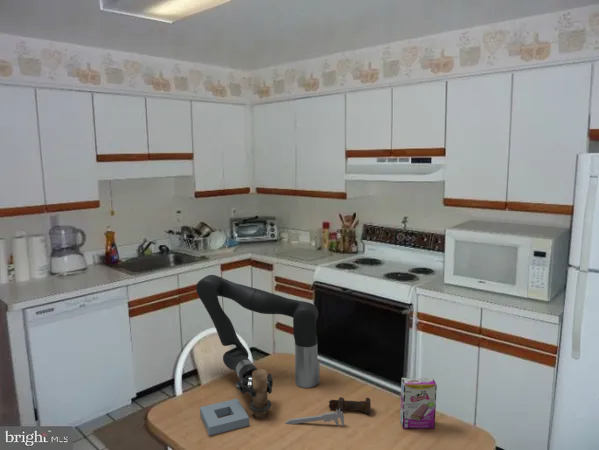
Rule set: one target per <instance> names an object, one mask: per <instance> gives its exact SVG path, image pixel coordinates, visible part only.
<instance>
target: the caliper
mask: <svg viewBox="0 0 599 450" xmlns="http://www.w3.org/2000/svg"><path fill="white" fill-rule="evenodd" d="M339 419H340V422H341V426H342V427H344V426H345V416H344V411H343V412H342V411H340V409H339V411H338V409H335V411H332V412H326V413H323V414H319V415H310V416H304V417H303V416H302V417H296V418H290V419H289V418H288V420H285V422H284V423H285V424H286V425H287V424H289V425H297V424H305V423H311V422H312V423H313V422H319V421H324V423H326V422H331V421H334V423H335V424H336V427H339V426H340V424H339Z"/></svg>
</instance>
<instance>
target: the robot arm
mask: <svg viewBox="0 0 599 450" xmlns="http://www.w3.org/2000/svg"><path fill="white" fill-rule="evenodd" d="M195 290H196V294H197V296H198V298H199V300H200V302H202V304H203V306H204V308H205V310H206V311H207V313H208V315H209V317H210V319H211V321H212V323H213V326H214V327H215V330H216V333H217V335H218V336H217V337H218V338H219V340H220V344H221V345H222V346H223V347H228V346H235V347H234V348H231V349H229V350H227V351H225V353H223V355H222V361H223V363H224V365H225V366H226V367H227V368H228V369H230V370H232V371H234V372H235V373H236V376H237V377H238V379H239V380H236V381H235V388H236V389H237V390H238V391H240V392H241V393H242V394H243V395H244V394H246V393H248V394H249V395H250V396H251V397H252V398H253V397H256V392H255V390H254V389H253V380H252V372H253V371H254V370H258V367H256V365H255V364H254V363H253V362H252V361H251V360H250V359H249V351H248V350H247V348H246V346H245V345H244V344H243V343H242V342H241V341H240V339H239V337H238V335H237V333H236V330H235V328H234V325H233V323H232V320H231V319H230V318H229V317H228V315H227V314H226V312H225V311H224V309H223V308H222V306H221V304H220V301H219V298H218V297H222V298H225V299H229V300H232V301H233V302H235V303H237V305H240V306H241V307H242V308H243V309H246V310H249V311H251V312H255V313H258V314H261V315H281V316H287V317H291V318H292V327H293V330H292V331H293V338H294V370H295V371H294V375H295V378H294V380H295V381H294V382H295V385H296V386H298V387H300V388H304V389H305V388H306V389H309V388H313V387H315V386H317V385H318V384H320V380H321V379H320V373H321V372H320V361H319V359H318V335H317V320H318V317H319V310H318V308H317V307H316V305H314V304H313V303H311V302H308V301H303V300H297V299H293V298H287V297H284V296H283V295H279V294H276V293H273V292H269V291H266V290H263V289H262V290H261V289H259V288H255V287H251V286H247V285H243V284H241V283H240V284H239V283H236V282H234V281H231V280H228V279H227V278H226V279H225V278H223V277H221V276H218V275H215V274H209V275H206V276H204V277H203V278H201V279H200V280H199V281H198V282H197V283H196V287H195ZM272 377H273V376H272V375H271V373H267V394H272V392H273V386H274V383H273V382H274V380H273V378H272Z"/></svg>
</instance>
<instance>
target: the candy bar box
mask: <svg viewBox="0 0 599 450" xmlns="http://www.w3.org/2000/svg"><path fill="white" fill-rule="evenodd" d="M437 386H438V385H437V383H436V381H435V379H434V377H401V381H400V411H399V413H400V414H399V418H400V419H399V421H400V424H401V427H402V429H403V430H404V429H405V430H406V429H407V430H408V429H409V430H410V429H413V430H414V429H420V430H421V429H422V430H425V429H426V430H427V429H428V430H429V429H432V430H433V429H435V428H436V427H435V426H436V412H437V411H436V409H437V407H436V406H437V405H436V403H437V391H438V390H437V389H438V388H437Z"/></svg>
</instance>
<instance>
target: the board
mask: <svg viewBox="0 0 599 450" xmlns="http://www.w3.org/2000/svg"><path fill="white" fill-rule="evenodd" d="M199 413H200V418H201V420H202V423H203V424H204V427H205V429H206V432H207V434H208V436H215V435H218V434H222V433H225V432H229V431H233V430H237V429H241V428H244V427H249V426H250V417H249V415H248V413H247V412H246V410H245V408H244V406H243V405H242V403H241V401H240V400H239V399H238V398H233V399H230V400H226V401H219V402H216V403H213V404H208V405H204V406H200V407H199Z"/></svg>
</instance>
